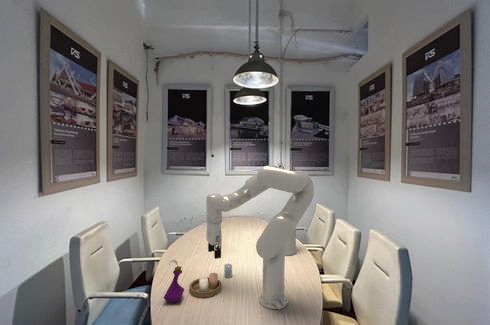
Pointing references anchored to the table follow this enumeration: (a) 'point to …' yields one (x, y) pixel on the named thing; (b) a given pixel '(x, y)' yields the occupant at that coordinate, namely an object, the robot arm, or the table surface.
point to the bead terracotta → (213, 280)
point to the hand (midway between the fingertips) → (214, 254)
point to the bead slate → (227, 270)
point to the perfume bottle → (174, 287)
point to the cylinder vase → (291, 244)
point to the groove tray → (195, 292)
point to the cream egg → (203, 284)
